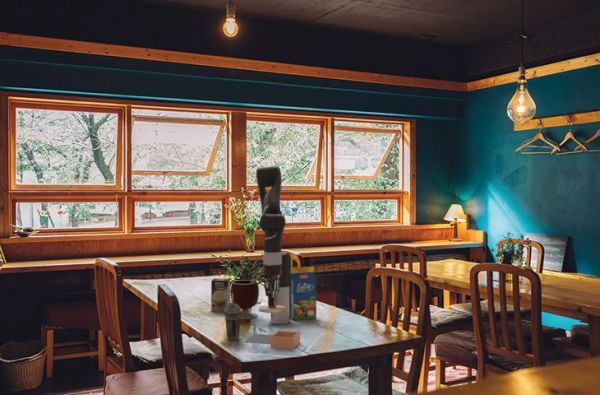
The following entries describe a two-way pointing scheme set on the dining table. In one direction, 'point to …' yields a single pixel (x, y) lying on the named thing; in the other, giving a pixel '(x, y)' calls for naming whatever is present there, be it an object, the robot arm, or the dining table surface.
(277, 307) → the lid
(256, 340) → the mat
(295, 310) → the blue food package
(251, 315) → the mate gourd
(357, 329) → the dining table surface
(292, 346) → the open wooden box
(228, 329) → the beverage cup
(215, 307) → the coffee box
